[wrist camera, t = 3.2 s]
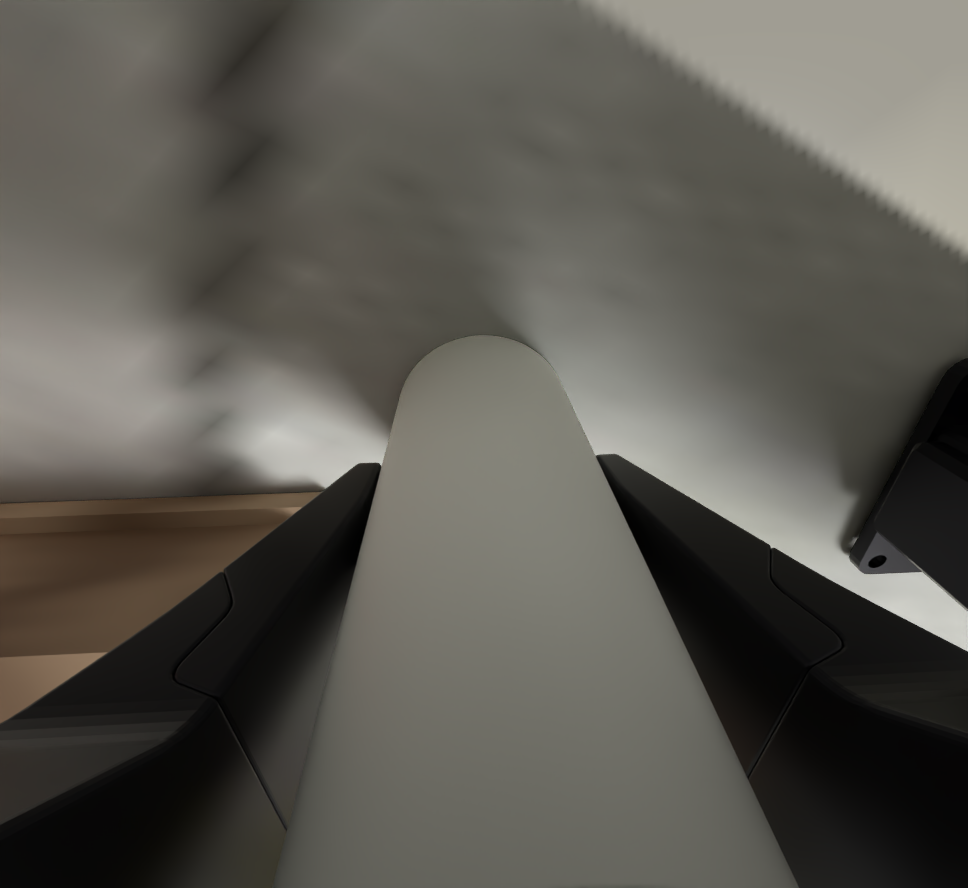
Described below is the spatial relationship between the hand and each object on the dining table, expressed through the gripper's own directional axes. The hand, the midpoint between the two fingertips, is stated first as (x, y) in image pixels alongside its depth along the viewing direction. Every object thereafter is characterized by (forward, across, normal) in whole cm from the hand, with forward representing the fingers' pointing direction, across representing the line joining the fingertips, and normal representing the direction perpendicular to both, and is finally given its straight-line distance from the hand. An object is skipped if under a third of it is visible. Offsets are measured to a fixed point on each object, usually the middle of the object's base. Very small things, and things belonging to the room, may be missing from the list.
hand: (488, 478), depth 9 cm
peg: (+2, 0, 0) cm, 2 cm away
